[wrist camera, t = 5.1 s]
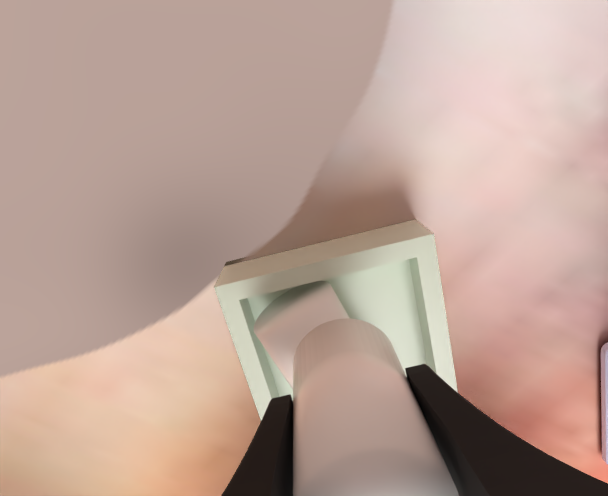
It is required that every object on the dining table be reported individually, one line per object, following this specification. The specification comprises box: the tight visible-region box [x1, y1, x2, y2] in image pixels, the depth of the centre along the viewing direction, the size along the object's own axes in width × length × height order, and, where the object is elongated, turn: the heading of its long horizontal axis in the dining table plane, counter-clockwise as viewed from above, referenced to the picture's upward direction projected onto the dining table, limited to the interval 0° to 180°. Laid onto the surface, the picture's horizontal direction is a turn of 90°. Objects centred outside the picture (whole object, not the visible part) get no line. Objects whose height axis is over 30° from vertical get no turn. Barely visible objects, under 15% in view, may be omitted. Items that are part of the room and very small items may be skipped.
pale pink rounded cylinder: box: [254, 280, 350, 389], centre depth 17 cm, size 4×4×6 cm
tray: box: [214, 219, 458, 421], centre depth 19 cm, size 9×13×3 cm
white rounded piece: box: [293, 318, 459, 496], centre depth 11 cm, size 4×4×6 cm
